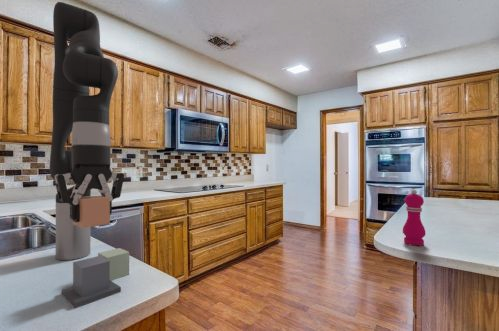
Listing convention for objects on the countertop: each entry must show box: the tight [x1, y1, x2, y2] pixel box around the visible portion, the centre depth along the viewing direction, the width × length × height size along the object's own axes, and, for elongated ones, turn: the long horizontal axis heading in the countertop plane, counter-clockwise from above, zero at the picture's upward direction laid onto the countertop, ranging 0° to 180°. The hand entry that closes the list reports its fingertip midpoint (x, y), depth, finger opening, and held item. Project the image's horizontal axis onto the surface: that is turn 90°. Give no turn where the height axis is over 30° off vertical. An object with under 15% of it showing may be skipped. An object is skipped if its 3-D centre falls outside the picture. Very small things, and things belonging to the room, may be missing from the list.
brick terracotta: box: [73, 194, 111, 228], centre depth 60 cm, size 6×6×6 cm
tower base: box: [60, 255, 122, 309], centre depth 60 cm, size 9×9×7 cm
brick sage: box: [97, 247, 130, 281], centre depth 69 cm, size 6×6×6 cm
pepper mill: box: [402, 189, 426, 246], centre depth 98 cm, size 7×7×20 cm
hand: (91, 219), depth 60 cm, fingers closed on brick terracotta, 5 cm apart
